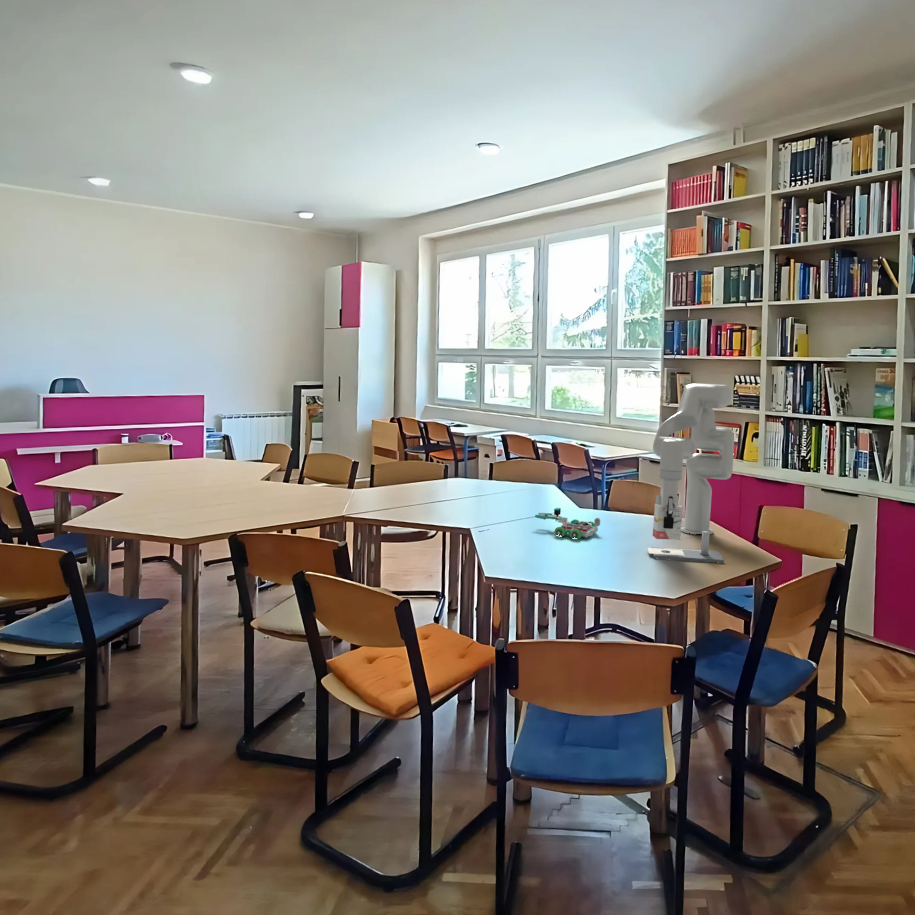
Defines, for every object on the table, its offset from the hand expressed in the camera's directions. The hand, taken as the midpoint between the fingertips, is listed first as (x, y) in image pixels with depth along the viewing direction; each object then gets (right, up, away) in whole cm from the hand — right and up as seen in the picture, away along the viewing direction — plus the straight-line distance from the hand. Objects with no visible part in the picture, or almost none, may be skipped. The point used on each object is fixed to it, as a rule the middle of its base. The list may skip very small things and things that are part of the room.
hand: (667, 525), depth 261 cm
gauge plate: (+7, -11, 0) cm, 13 cm away
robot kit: (-31, -6, +32) cm, 45 cm away
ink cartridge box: (0, -5, 0) cm, 5 cm away
